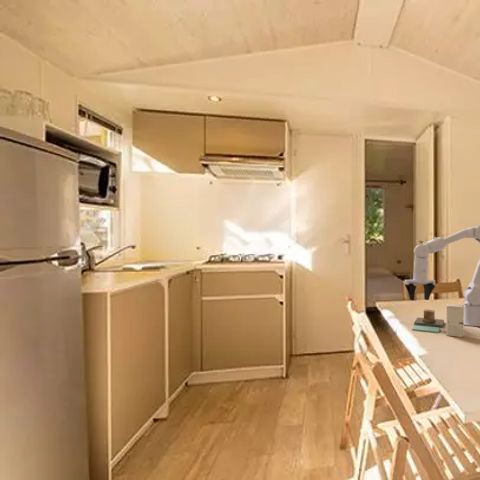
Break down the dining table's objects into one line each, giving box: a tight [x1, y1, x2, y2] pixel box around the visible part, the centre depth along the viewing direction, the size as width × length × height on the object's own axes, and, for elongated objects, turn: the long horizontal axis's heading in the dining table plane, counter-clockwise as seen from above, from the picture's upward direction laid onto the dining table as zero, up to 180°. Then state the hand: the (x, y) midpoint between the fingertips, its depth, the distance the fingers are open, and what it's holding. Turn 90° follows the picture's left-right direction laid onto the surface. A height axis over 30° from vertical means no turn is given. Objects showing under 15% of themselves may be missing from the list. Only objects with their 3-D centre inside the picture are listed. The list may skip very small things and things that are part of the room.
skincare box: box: [445, 303, 464, 338], centre depth 154 cm, size 6×4×12 cm
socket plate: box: [413, 317, 445, 329], centre depth 173 cm, size 11×11×1 cm
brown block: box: [423, 309, 436, 323], centre depth 173 cm, size 4×4×6 cm
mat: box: [411, 324, 441, 334], centre depth 163 cm, size 10×7×1 cm
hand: (419, 299), depth 178 cm, fingers open, 7 cm apart
